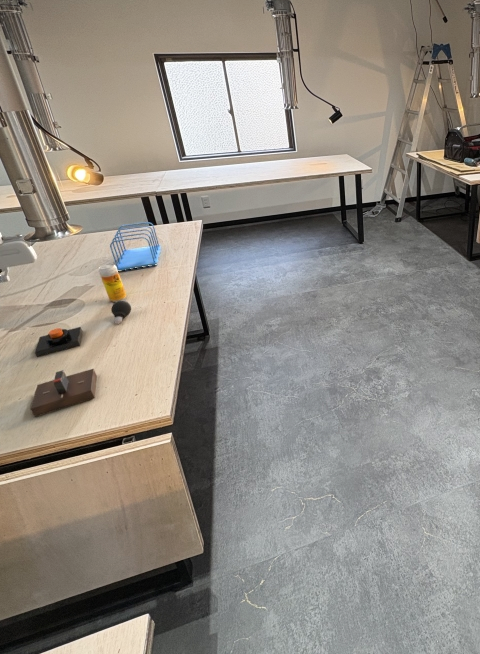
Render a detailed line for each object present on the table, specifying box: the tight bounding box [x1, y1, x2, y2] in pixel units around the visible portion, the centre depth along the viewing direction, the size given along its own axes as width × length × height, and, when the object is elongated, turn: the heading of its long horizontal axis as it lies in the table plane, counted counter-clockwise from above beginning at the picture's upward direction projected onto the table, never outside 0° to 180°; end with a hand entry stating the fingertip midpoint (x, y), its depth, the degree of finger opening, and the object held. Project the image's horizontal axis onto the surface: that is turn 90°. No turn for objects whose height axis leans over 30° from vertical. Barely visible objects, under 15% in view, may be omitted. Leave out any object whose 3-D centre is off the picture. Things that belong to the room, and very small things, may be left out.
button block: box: [34, 326, 84, 358], centre depth 142 cm, size 12×10×4 cm
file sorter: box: [109, 221, 162, 273], centre depth 202 cm, size 25×17×15 cm
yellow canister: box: [98, 263, 127, 303], centre depth 167 cm, size 6×6×15 cm
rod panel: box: [30, 368, 98, 418], centre depth 119 cm, size 14×11×3 cm
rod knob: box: [53, 369, 68, 394], centre depth 117 cm, size 6×2×4 cm, turn 30°
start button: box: [48, 327, 63, 338], centre depth 140 cm, size 4×4×2 cm
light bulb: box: [110, 300, 132, 325], centre depth 155 cm, size 6×6×10 cm
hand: (3, 281), depth 126 cm, fingers closed
